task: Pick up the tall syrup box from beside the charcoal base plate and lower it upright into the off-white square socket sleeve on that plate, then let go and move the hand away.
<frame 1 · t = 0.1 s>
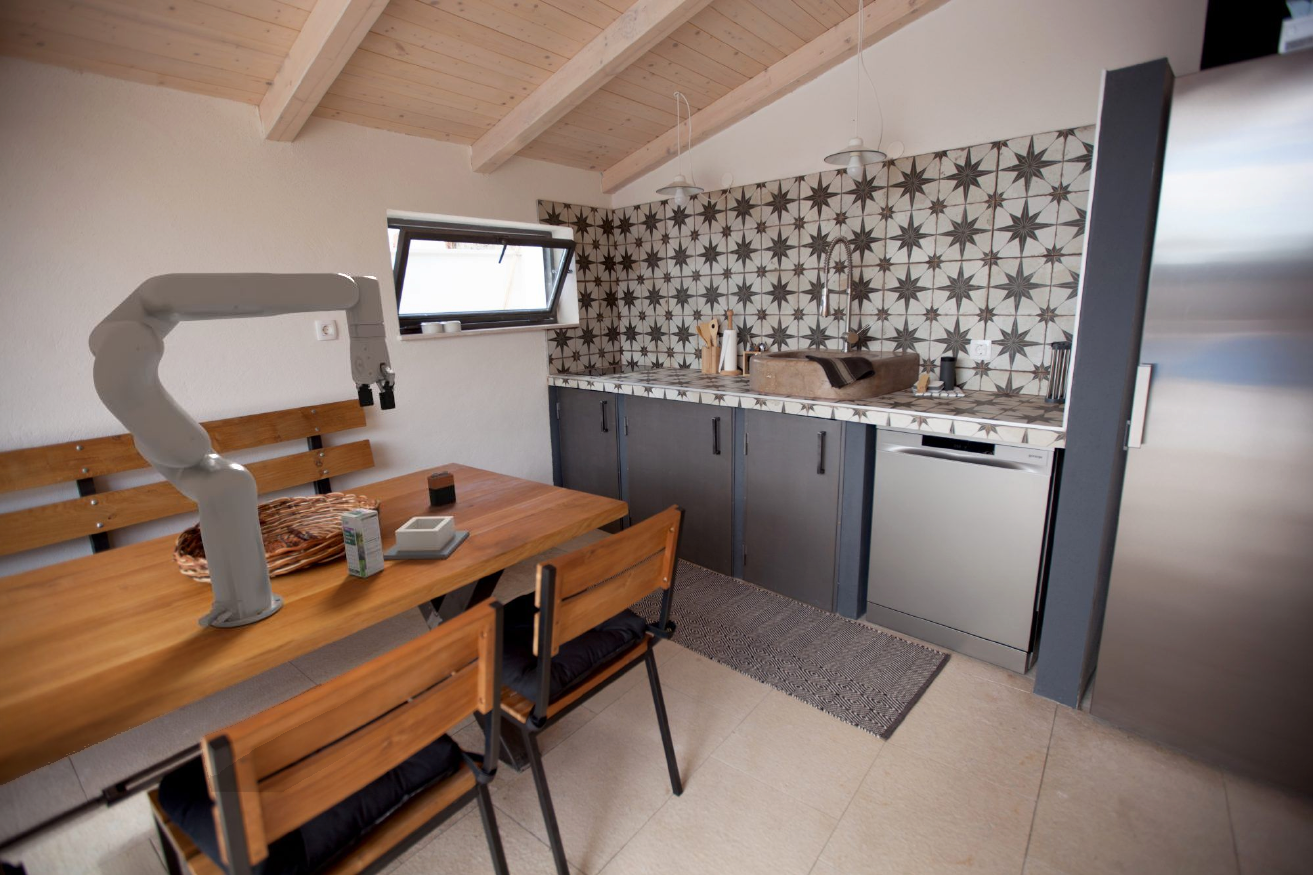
hand: (377, 407, 141), 37 cm above the table, tool pointing down, fingers open, 9 cm apart
socket: (427, 545, 155), on the table
syrup box: (367, 572, 141), on the table
battery: (443, 503, 190), on the table
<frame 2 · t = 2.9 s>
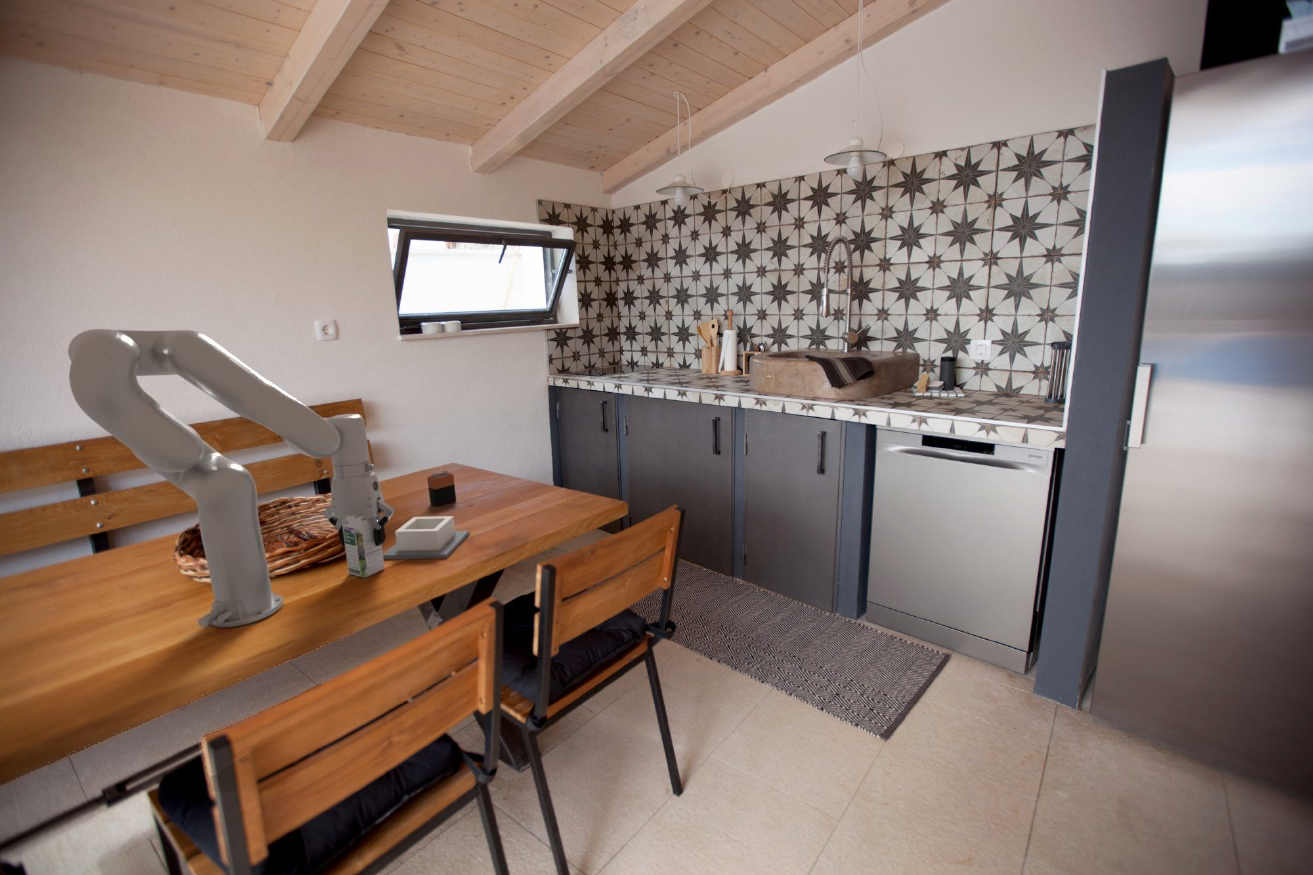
hand: (363, 543, 140), 7 cm above the table, tool pointing down, fingers closed on syrup box, 7 cm apart
syrup box: (367, 572, 141), on the table, touching gripper
everything else where it was.
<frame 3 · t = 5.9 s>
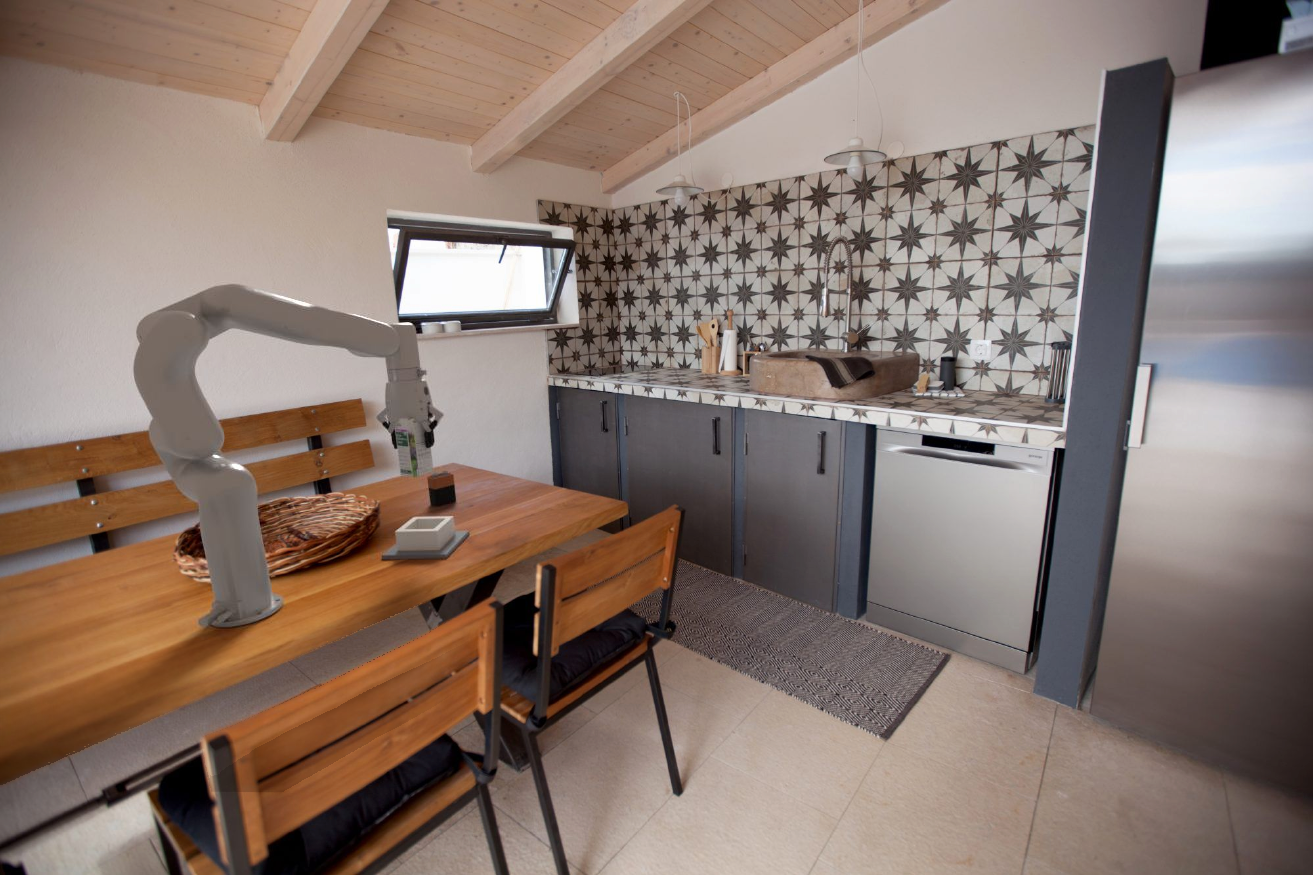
hand: (414, 446, 149), 26 cm above the table, tool pointing down, fingers closed on syrup box, 7 cm apart
syrup box: (417, 474, 151), point 19 cm above the table, touching gripper
everything else where it was.
when the fingers open (9 cm above the table, at t = 9.2 s): syrup box drops 1 cm, resting on socket.
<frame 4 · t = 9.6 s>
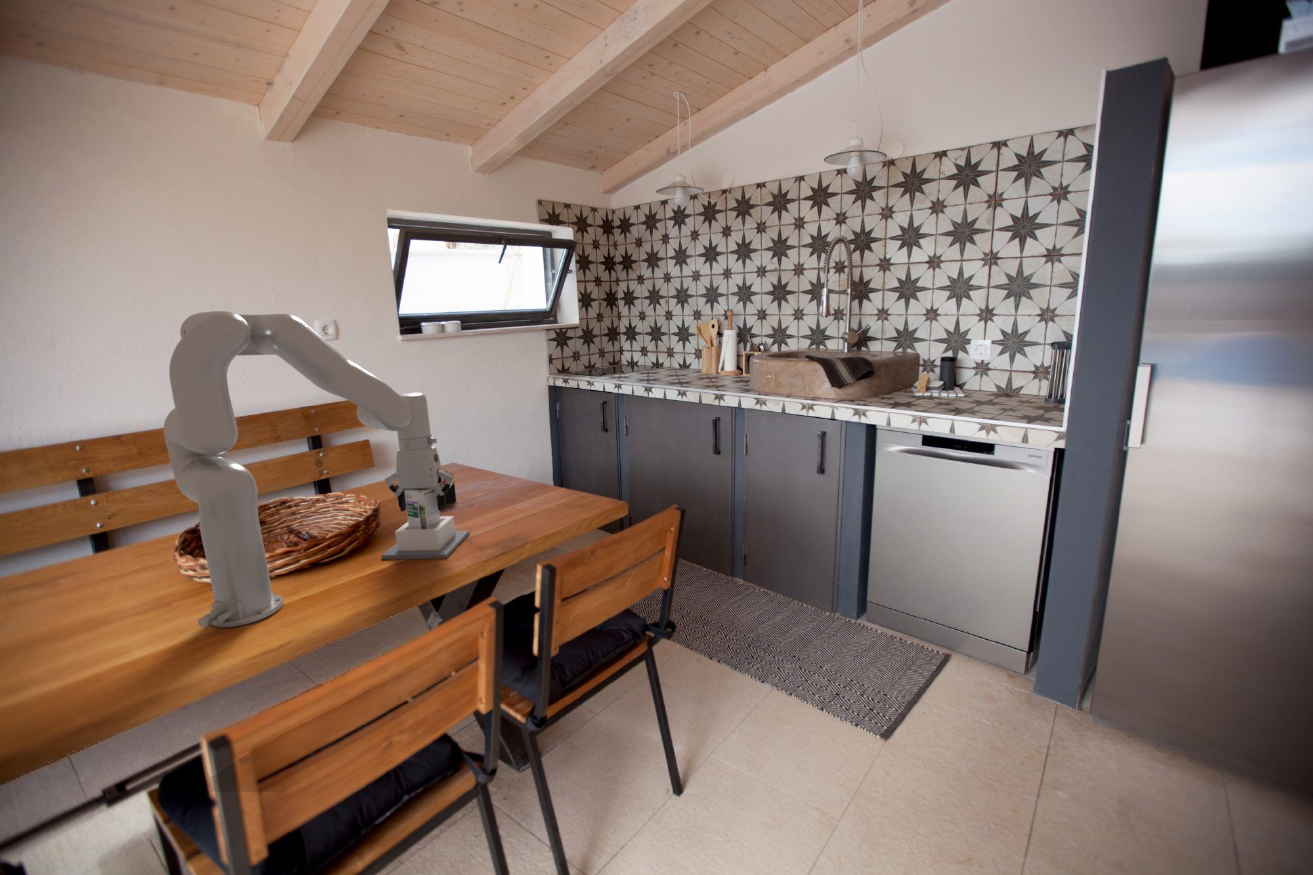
hand: (423, 509, 153), 10 cm above the table, tool pointing down, fingers open, 9 cm apart
syrup box: (426, 542, 155), point 1 cm above the table, touching socket
everything else where it was.
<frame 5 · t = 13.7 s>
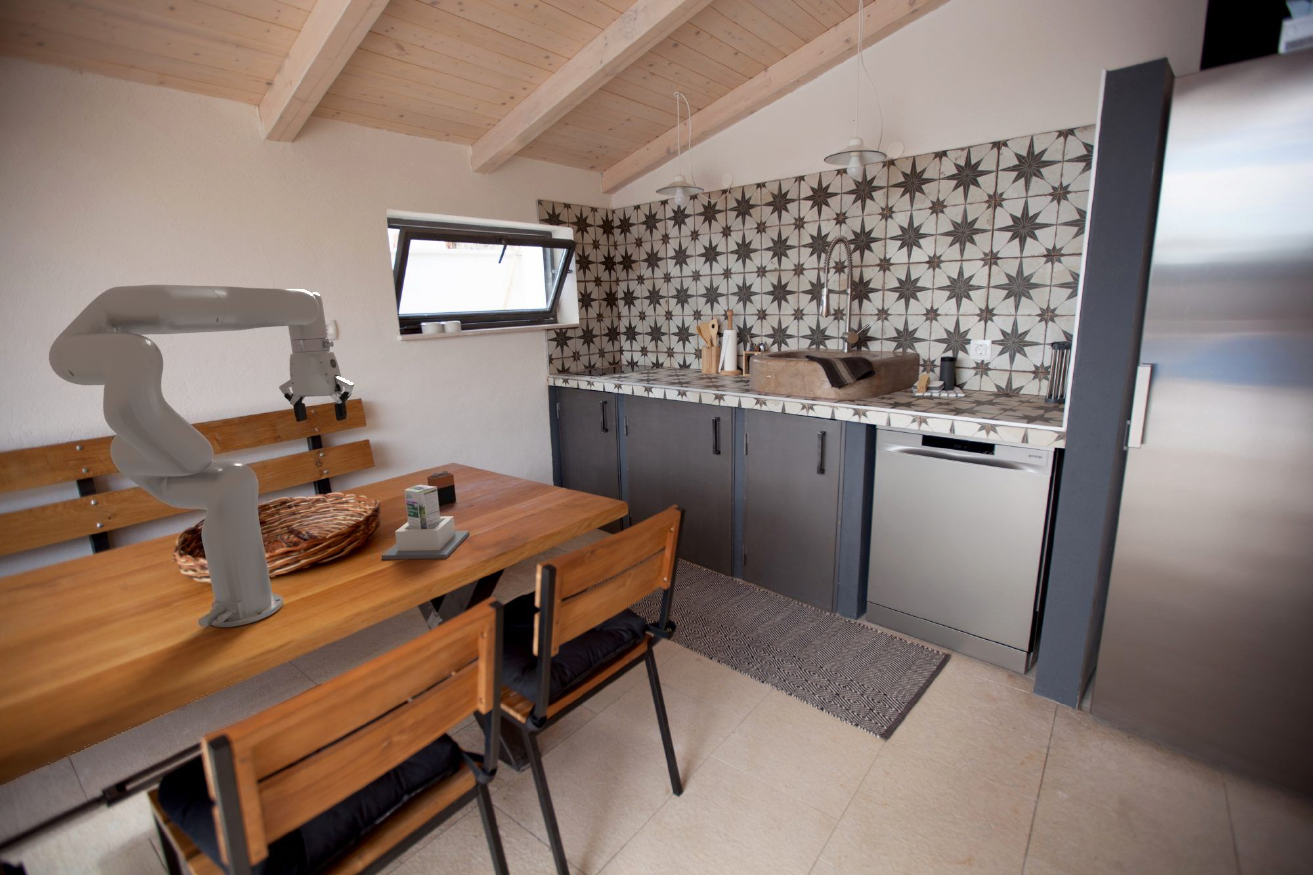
hand: (321, 420, 143), 34 cm above the table, tool pointing down, fingers open, 9 cm apart
nothing on the table moved.
at the end: syrup box 0.2 cm off-centre on the socket, point 0.8 cm above the socket's base; syrup box tilted 0°; the gripper is holding nothing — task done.
